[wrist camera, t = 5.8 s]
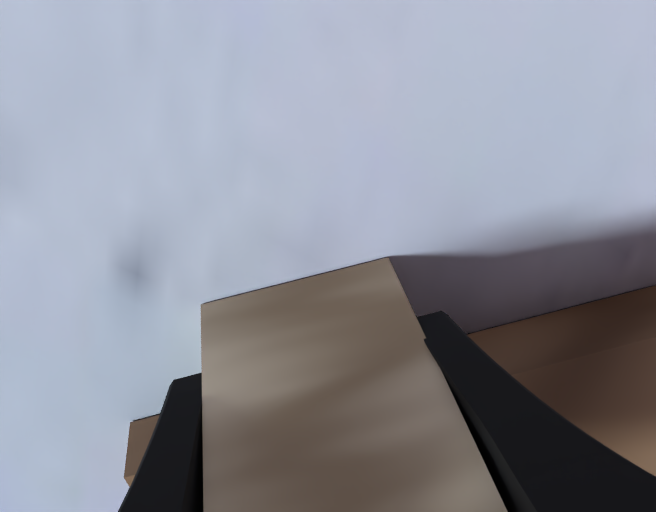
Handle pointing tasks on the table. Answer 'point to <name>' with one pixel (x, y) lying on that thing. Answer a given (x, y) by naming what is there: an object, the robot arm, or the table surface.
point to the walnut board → (564, 372)
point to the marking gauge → (332, 404)
